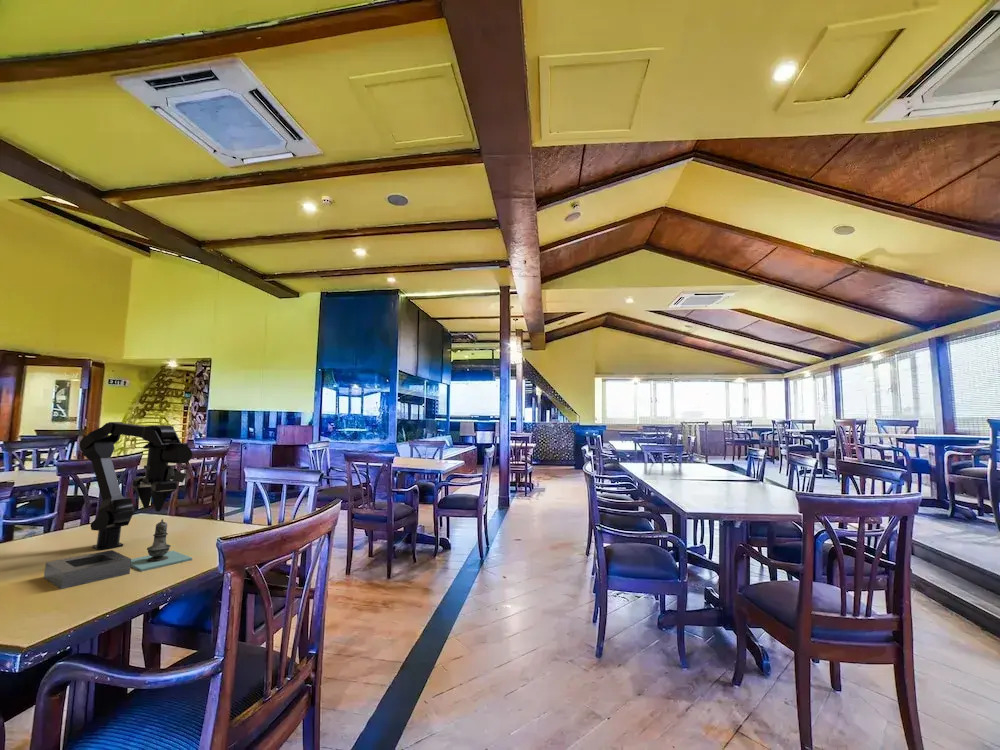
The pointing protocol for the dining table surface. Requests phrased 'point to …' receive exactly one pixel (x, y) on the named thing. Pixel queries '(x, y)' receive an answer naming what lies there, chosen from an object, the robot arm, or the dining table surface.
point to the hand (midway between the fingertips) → (152, 509)
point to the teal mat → (172, 556)
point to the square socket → (86, 568)
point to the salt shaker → (159, 544)
